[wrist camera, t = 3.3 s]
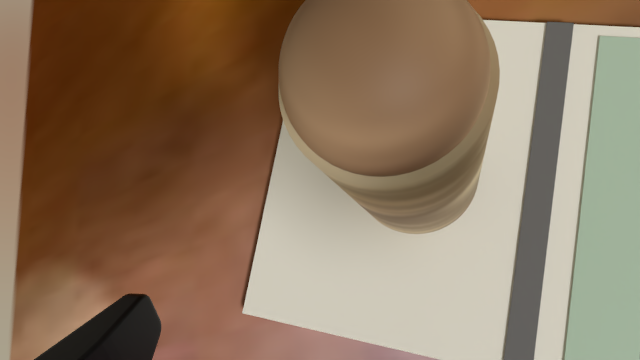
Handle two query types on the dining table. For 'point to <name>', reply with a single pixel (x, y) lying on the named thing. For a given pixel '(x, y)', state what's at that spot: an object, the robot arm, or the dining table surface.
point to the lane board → (485, 223)
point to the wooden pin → (392, 103)
